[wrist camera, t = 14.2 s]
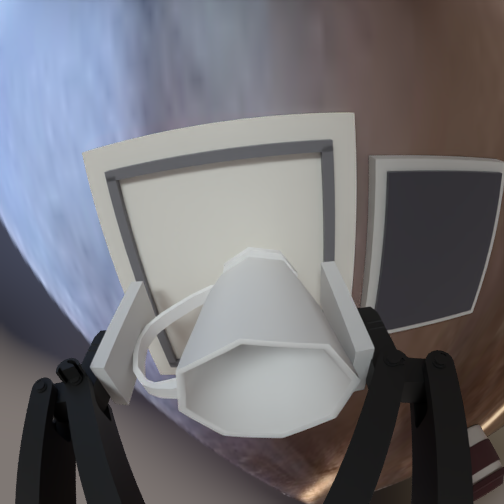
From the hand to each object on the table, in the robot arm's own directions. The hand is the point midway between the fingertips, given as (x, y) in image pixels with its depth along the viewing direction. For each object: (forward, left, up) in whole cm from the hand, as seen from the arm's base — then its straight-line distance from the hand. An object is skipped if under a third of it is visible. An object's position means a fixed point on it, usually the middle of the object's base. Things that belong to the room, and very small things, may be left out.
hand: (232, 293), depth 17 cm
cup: (0, 0, -1) cm, 1 cm away
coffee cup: (+43, +37, -3) cm, 57 cm away
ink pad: (0, +14, -2) cm, 14 cm away
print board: (0, 0, -2) cm, 2 cm away
